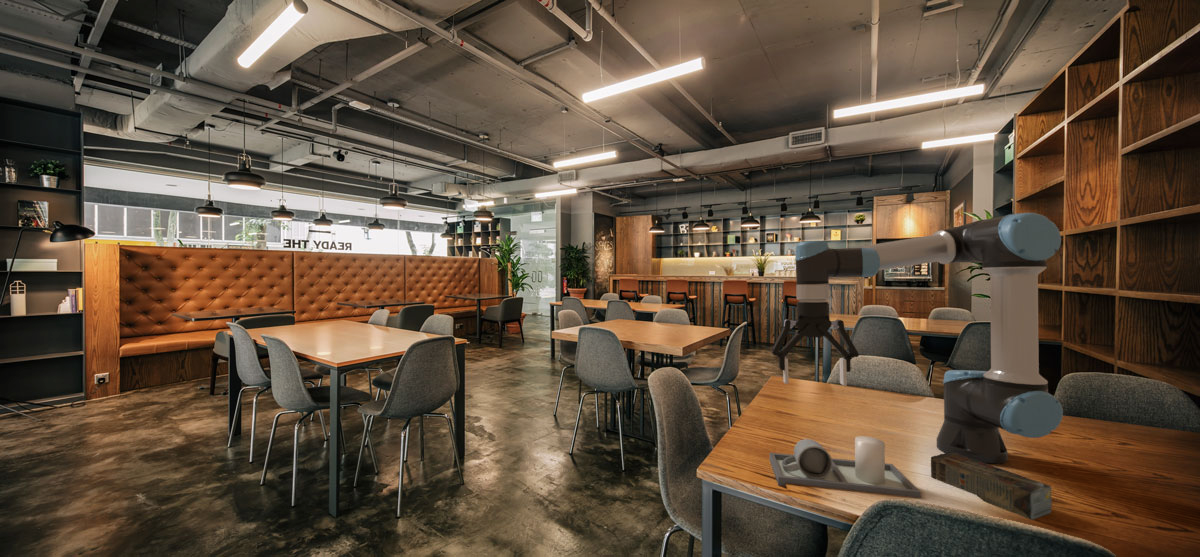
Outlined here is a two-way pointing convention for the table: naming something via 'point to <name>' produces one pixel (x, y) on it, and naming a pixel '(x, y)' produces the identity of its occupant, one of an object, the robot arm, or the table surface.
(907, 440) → the table surface
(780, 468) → the cup caddy
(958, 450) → the robot arm
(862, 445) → the white pillar candle
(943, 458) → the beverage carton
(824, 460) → the ceramic mug
